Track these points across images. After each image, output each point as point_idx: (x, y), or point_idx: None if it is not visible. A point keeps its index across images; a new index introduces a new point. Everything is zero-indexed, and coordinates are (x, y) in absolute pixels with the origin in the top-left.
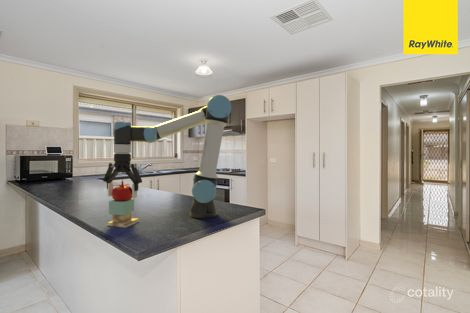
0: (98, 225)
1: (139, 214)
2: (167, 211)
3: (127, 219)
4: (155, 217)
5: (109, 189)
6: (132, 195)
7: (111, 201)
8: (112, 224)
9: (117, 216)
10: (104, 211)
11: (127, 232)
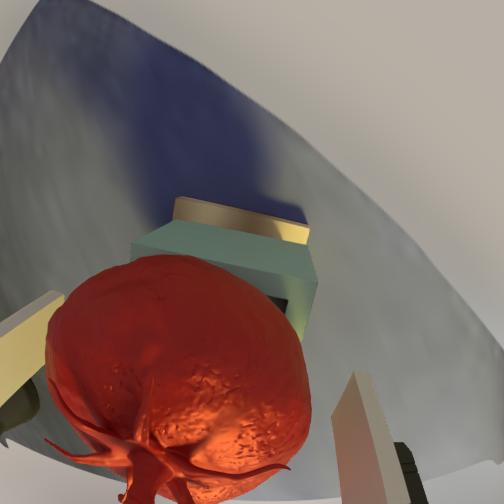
0: (364, 228)
1: None
2: None
3: None
4: None
5: (368, 433)
6: (44, 303)
7: (283, 273)
8: (272, 217)
9: None
10: (417, 441)
11: (137, 120)
